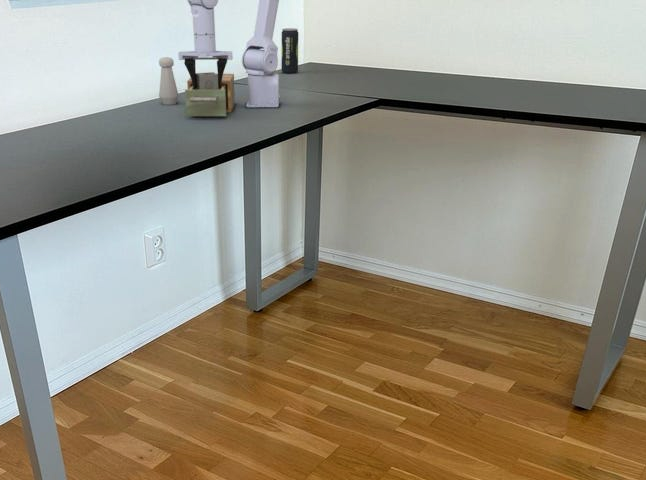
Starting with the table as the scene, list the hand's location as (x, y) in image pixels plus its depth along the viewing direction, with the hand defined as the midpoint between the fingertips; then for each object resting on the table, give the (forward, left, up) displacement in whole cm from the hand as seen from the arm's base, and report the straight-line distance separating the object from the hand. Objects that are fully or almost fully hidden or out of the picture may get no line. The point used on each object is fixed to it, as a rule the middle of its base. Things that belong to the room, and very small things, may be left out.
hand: (207, 87), depth 195 cm
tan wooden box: (0, -11, -7) cm, 13 cm away
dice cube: (0, 0, -2) cm, 2 cm away
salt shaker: (+14, -18, -8) cm, 24 cm away
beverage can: (-22, -79, -8) cm, 82 cm away
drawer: (0, +2, -7) cm, 7 cm away
